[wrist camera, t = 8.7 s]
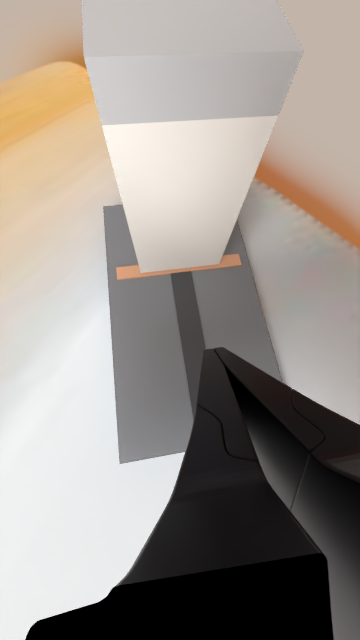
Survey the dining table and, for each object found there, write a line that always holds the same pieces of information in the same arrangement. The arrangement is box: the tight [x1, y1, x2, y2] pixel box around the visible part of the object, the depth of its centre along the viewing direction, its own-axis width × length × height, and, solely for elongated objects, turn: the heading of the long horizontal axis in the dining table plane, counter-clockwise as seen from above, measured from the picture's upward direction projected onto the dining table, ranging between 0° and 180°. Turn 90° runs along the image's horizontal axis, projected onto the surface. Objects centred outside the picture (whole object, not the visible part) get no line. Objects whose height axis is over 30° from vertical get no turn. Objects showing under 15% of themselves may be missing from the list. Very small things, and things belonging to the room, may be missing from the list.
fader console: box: [103, 205, 282, 464], centre depth 16 cm, size 19×11×2 cm, turn 9°
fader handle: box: [82, 0, 304, 273], centre depth 11 cm, size 3×6×11 cm, turn 99°
